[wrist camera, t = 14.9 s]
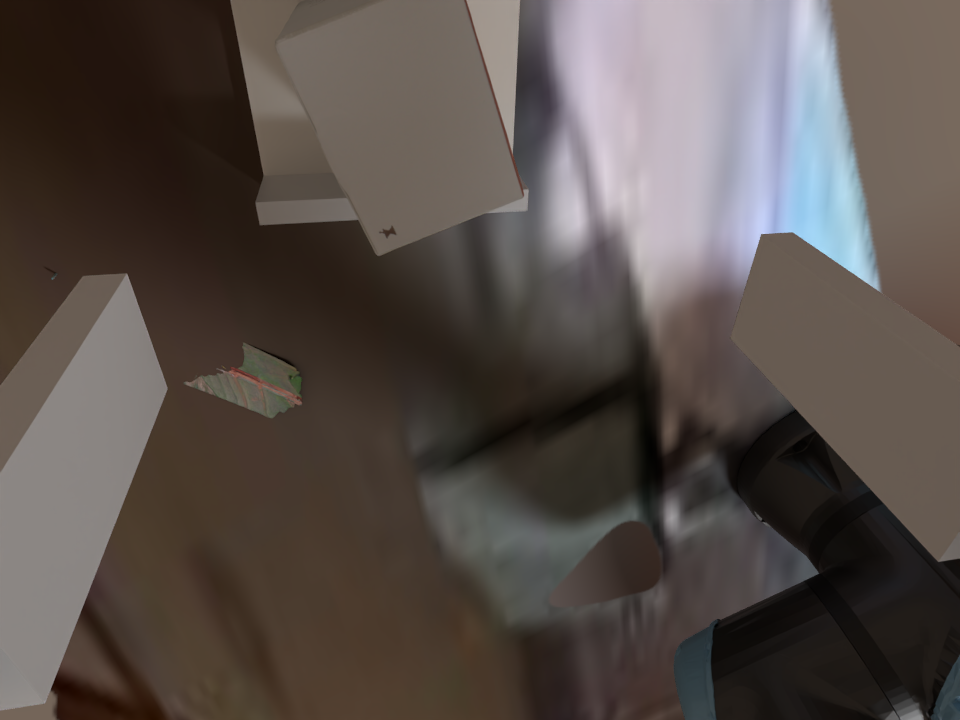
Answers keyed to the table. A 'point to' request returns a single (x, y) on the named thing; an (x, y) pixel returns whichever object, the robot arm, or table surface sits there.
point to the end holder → (289, 135)
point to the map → (255, 383)
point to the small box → (401, 112)
